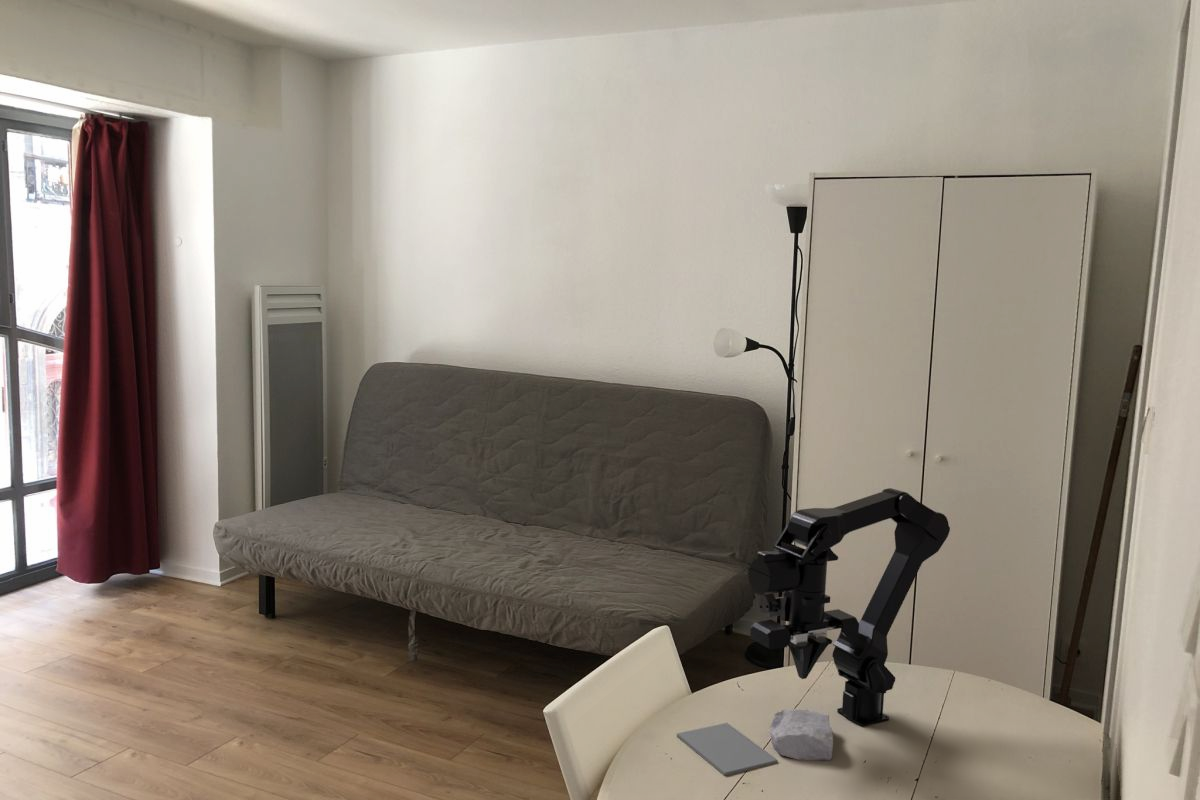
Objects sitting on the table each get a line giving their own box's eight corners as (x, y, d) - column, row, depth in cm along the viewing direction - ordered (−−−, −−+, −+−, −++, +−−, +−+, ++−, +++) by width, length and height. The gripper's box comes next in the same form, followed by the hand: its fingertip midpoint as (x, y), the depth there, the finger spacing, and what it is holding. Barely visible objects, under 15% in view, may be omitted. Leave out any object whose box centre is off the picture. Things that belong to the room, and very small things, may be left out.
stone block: (774, 767, 150) (838, 762, 149) (770, 738, 150) (834, 732, 149) (771, 735, 162) (830, 730, 161) (767, 708, 162) (826, 703, 161)
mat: (726, 725, 161) (727, 722, 161) (777, 762, 149) (777, 759, 149) (676, 736, 157) (676, 733, 157) (724, 775, 145) (724, 772, 144)
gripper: (820, 568, 168) (815, 653, 170) (733, 579, 160) (728, 668, 162) (864, 586, 158) (858, 676, 160) (773, 599, 150) (768, 694, 152)
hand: (802, 677), depth 159 cm, fingers closed
